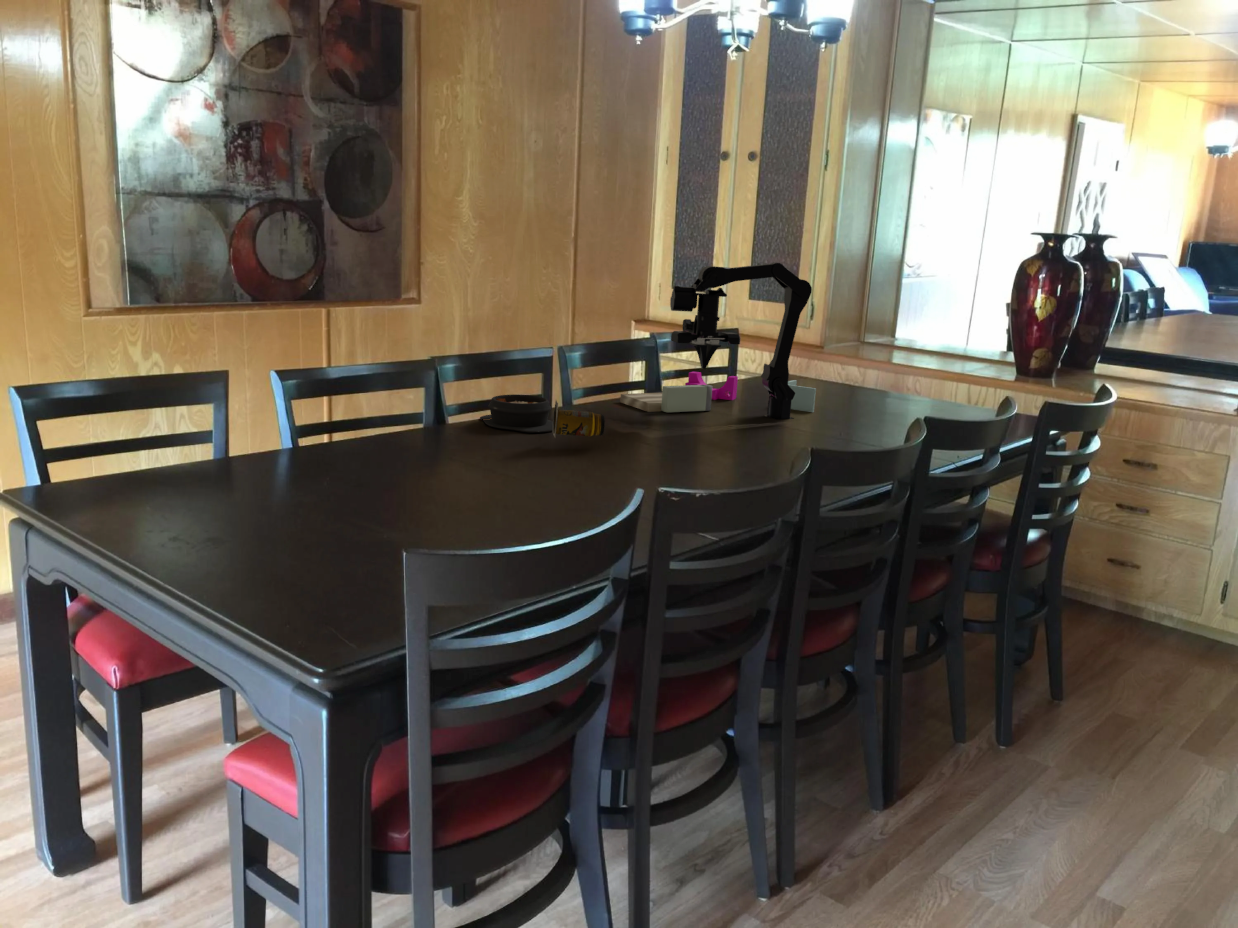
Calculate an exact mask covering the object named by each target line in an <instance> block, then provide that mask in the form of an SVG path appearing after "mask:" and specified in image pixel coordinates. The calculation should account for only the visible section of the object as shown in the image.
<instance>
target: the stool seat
mask: <svg viewBox="0 0 1238 928" xmlns="http://www.w3.org/2000/svg"><path fill="white" fill-rule="evenodd" d="M619 403H621V404H625V405H627V406H631V407H633V408H637V409H638V410H642V411H645V412H647V413H652V412H662V411H661V405H662V392H645V393H643V392H642V393H641V392H640V393H639V392H638V393H620V401H619Z"/></svg>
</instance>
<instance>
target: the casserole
mask: <svg viewBox="0 0 1238 928" xmlns="http://www.w3.org/2000/svg"><path fill="white" fill-rule="evenodd" d="M487 408H488V409H489V410H490V414H486V415H482V416H480V417H479V419H480V420H481V421H483V422H484V424H486V426H488V427H491V428H494V429H500V430H507V431H516V432H521V433H530V434H531V433H533V434H536V433H551V432H553V420H551V419H548V418H549V415H550V411H551V410H552V409H553V407H552V406H551V405H550V401H549V399H547V398H544V397H543V396H537V395H531V394H530V395H529V394H513V393H512V394H502V395H501V394H500V395H497V396H496V395H495V396H493V397H492V398H491V399H490V402H489V404H488V405H487ZM490 418H492V419H490ZM482 419H490V420H482Z"/></svg>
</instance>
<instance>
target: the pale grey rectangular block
mask: <svg viewBox="0 0 1238 928" xmlns="http://www.w3.org/2000/svg"><path fill="white" fill-rule="evenodd" d="M712 388H713V385H711V384H707V385H685V384H683V385H663V386H662V391H661V393H662V405H661V411H660V412H664V413H680V412H682V413H683V412H704V411H707V412H708V411H711V410H712V409H711V408H712V400H713V399H712Z"/></svg>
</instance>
